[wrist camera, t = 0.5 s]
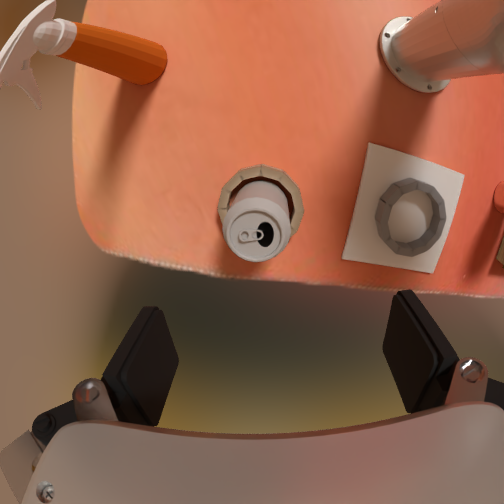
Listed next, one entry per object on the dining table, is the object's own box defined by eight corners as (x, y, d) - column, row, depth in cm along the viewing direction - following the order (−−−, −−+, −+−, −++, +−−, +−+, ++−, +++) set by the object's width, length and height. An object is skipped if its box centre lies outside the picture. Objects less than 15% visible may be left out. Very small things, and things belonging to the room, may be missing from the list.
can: (286, 230, 41) (289, 270, 30) (235, 227, 42) (220, 266, 31) (289, 180, 38) (293, 203, 27) (235, 178, 38) (218, 200, 28)
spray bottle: (110, 100, 34) (-35, 111, 10) (137, 38, 29) (7, -7, 6) (146, 113, 35) (-2, 126, 11) (176, 48, 30) (51, -17, 7)
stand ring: (262, 148, 36) (261, 150, 34) (317, 207, 39) (320, 212, 37) (206, 203, 40) (201, 208, 38) (260, 255, 43) (259, 262, 41)
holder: (368, 142, 34) (375, 144, 32) (462, 174, 34) (473, 178, 31) (341, 257, 42) (345, 266, 39) (431, 271, 42) (438, 280, 39)
